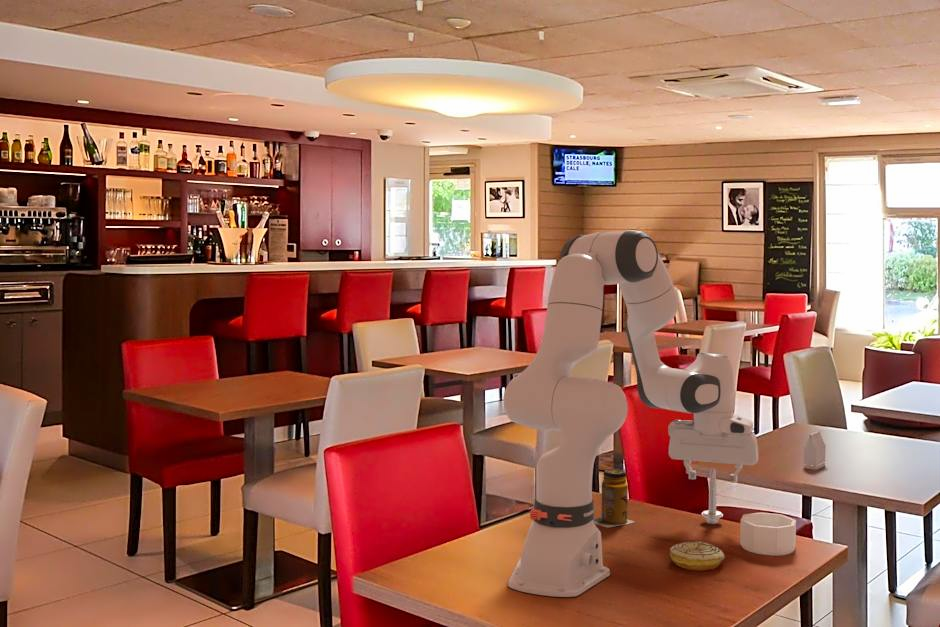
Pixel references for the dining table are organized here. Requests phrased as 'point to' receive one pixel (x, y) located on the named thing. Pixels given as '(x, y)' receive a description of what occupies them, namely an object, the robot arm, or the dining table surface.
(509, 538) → the dining table surface
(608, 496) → the condiment
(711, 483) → the screw
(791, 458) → the dining table surface
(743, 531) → the white faceted bowl
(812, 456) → the white faceted block
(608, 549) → the dining table surface
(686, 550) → the decorated donut
